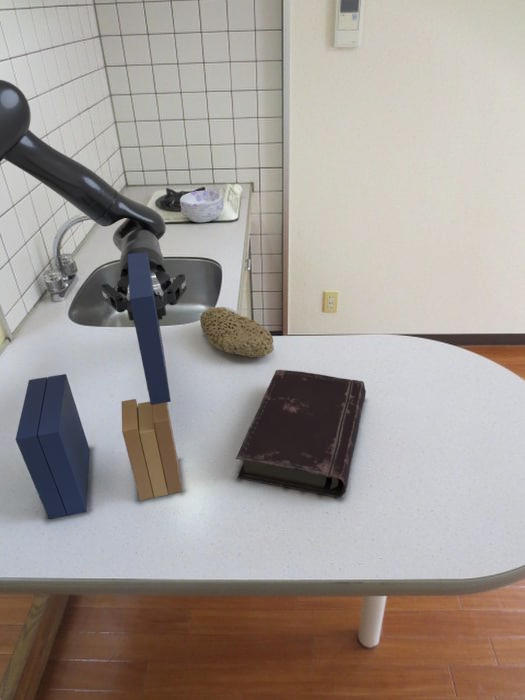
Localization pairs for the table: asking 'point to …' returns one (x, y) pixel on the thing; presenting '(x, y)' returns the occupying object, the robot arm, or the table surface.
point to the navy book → (148, 327)
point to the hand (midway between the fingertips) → (147, 315)
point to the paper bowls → (202, 205)
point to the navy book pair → (54, 446)
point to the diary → (304, 433)
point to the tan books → (151, 448)
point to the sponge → (235, 333)
